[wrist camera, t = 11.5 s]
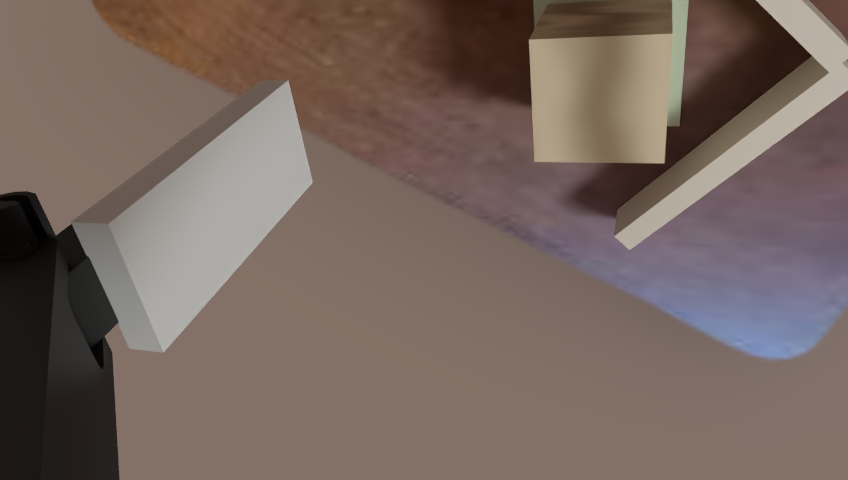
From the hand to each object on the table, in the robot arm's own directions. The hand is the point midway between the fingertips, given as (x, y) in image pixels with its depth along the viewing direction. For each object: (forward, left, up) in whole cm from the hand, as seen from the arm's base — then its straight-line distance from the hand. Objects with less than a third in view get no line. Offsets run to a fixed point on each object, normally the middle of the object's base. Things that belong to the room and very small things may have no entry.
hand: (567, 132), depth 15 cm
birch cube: (+6, -8, -34) cm, 36 cm away
